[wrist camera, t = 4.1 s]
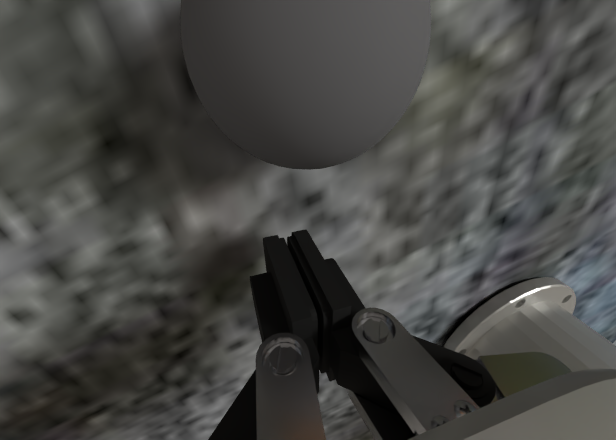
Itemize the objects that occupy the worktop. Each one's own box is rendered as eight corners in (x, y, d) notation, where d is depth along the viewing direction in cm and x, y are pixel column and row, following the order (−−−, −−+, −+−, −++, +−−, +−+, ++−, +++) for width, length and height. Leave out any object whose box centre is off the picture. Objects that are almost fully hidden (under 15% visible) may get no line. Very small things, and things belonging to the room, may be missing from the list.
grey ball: (371, 107, 11) (488, 148, 6) (236, 162, 10) (260, 247, 6) (339, -94, 8) (527, -296, 3) (144, -31, 7) (46, -165, 3)
